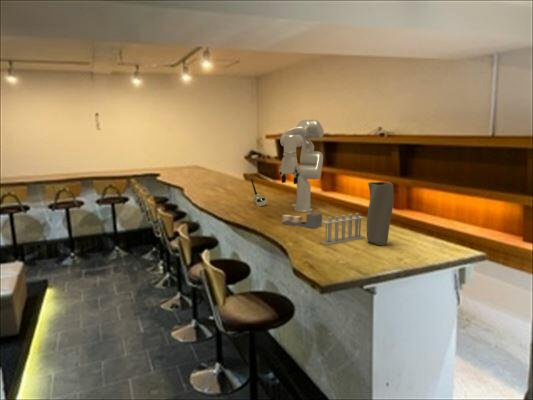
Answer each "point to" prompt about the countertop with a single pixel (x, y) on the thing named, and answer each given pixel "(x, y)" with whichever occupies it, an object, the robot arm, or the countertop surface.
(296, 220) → the beige rectangular block
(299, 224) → the guide channel
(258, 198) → the butterfly valve
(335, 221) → the test tube rack
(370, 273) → the countertop surface
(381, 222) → the vase
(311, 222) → the end cap
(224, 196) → the countertop surface
